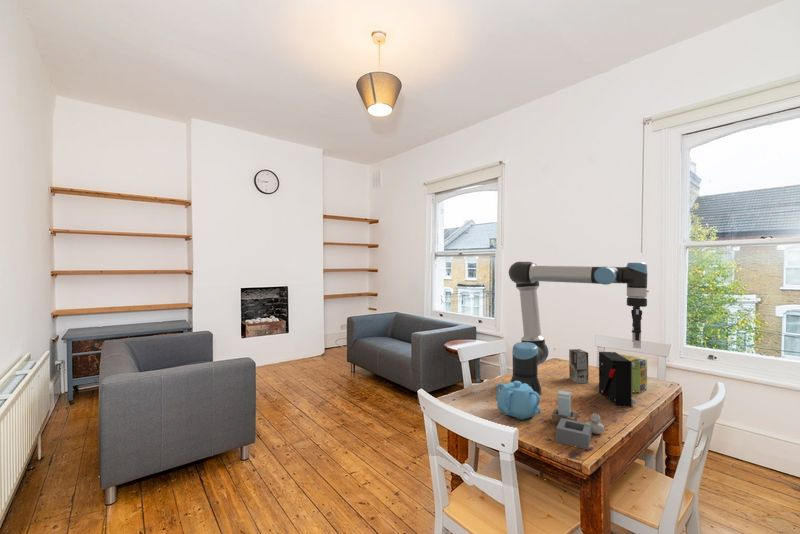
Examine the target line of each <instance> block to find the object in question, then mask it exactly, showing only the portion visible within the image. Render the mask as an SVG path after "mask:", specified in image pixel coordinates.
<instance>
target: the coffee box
mask: <svg viewBox="0 0 800 534" xmlns="http://www.w3.org/2000/svg"><path fill="white" fill-rule="evenodd" d="M568 351H569V352H568V358H569V359H568V361H569V362H568V364H569V367H568V369H569V372H568V373H569V375H568V376H569V378H568V379H570V380H572V381H573V382H575V383H577V384H588V383H589V352H587V351H584V350H582V349H580V348H577V349H573V348H572V349H571V348H570V349H568Z"/></svg>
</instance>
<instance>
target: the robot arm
mask: <svg viewBox="0 0 800 534" xmlns="http://www.w3.org/2000/svg"><path fill="white" fill-rule="evenodd" d="M508 277H509V279H510V280H511V282H513V283H514V284H515V288H516V289H517V290H518V291H519V297H520V308H521V320H522V328H523V329H522V330H523V336H522V337H521V339H520V340H521V342H516V343H514V345H513V346H512V352H511V353H512V376H511V379H510V382H513V381H520V382H521V384H523V383H526V384H528V385H529V386H530V387H531V388H532V389H533V391H535V392H537V393H538V394H539V396H540V397H541V395H542V387H541V384H540V381H539V377H538V376H539V375H538V371H539V370H538V369H539V368H538V366H539V365H541V364H543V363H544V362H545V361H546V360H547V358H548V356H549V353H550V352H549V347H548V346H547V344H546V340H545V337H544V336H542V331H541V320H540V310H539V301H538V300H539V299H538V288H539V287H540V282H548V283H549V282H550V283H551V282H552V283H569V284H570V283H571V284H572V283H573V284H577V283H578V284H595V285H604V286H606V285H607V286H608V285H611V284H624V285H625V284H626V296H627V297H626V306H627V307H632V309H631V311H630V312H631V320H632V324H631V325H632V330H631V333H632V336H631V337H632V338H631V339H632V340H631V341H632V348H633V349H634V348H635V349H641V348H642V320H643V310H641V308H646V307H647V306H648V298H647V296H648V293H649V292H650V291H649V289H648V264H647V263H645V262H627V264H626V266H623V267H622V266H584V265H583V266H579V265H578V266H576V265H575V266H574V265H573V266H572V265H570V266H569V265H566V266H565V265H537V264H536V263H534V262H532V261H516V262H514V263H513V264H511V265H510V267H509V270H508ZM510 382H509V383H510Z"/></svg>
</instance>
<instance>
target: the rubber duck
mask: <svg viewBox="0 0 800 534" xmlns="http://www.w3.org/2000/svg"><path fill="white" fill-rule="evenodd" d="M587 423H589V424H591V434H595V435H600V434H602V433H603V432H604V431H605V426H604V424H602V423H601V417H600V415H599V414H598V413H596V411H594V412H593V413H592V414H591V416H590V421H588V422H587Z"/></svg>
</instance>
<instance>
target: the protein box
mask: <svg viewBox="0 0 800 534" xmlns="http://www.w3.org/2000/svg"><path fill="white" fill-rule="evenodd" d="M618 354H619V355H622V356H623V357H625V358H626V359H628V360H630V361H631V362H633V363H634V364H635V367H634V368H632V391H634V392H633V393H636V392H639V393H638V394H642V393H643V392H645V391H646V390H648V358H645V357H641V356H639V357H638V356H632V355H627V354H621V353H618ZM645 389H646V390H645ZM644 390H645V391H644ZM642 391H643V392H642ZM641 392H642V393H641Z"/></svg>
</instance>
